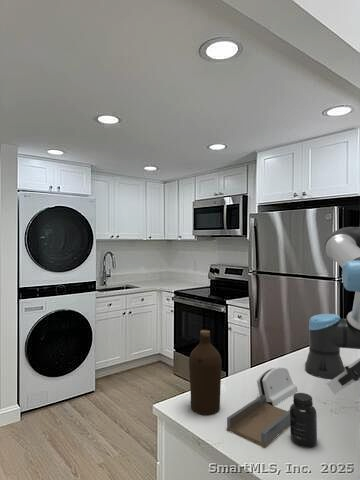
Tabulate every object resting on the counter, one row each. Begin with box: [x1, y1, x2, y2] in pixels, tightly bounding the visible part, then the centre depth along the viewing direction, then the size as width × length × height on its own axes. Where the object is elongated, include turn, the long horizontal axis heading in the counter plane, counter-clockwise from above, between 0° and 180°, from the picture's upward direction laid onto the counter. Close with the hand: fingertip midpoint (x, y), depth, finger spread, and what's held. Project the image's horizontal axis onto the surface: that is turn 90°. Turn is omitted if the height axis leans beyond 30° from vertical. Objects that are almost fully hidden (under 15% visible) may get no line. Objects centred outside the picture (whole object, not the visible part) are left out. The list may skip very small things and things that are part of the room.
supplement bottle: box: [289, 392, 318, 448], centre depth 90 cm, size 7×7×12 cm
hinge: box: [256, 367, 299, 407], centre depth 118 cm, size 17×5×10 cm, turn 133°
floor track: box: [226, 395, 290, 448], centre depth 99 cm, size 20×12×4 cm, turn 136°
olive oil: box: [188, 329, 223, 416], centre depth 109 cm, size 11×11×25 cm
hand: (340, 380), depth 83 cm, fingers open, 13 cm apart
